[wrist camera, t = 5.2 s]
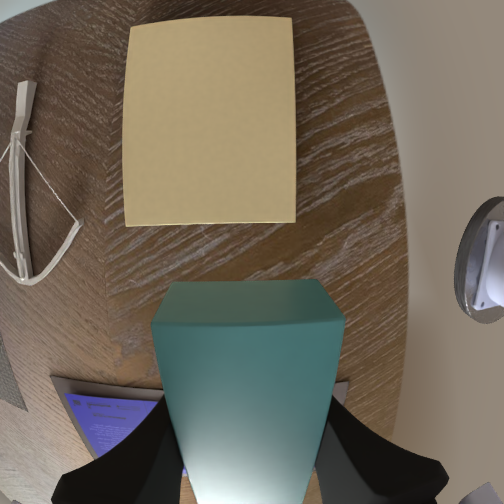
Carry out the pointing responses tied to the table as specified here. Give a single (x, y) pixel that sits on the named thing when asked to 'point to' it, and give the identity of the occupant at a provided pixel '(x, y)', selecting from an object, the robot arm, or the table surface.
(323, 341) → the teal rectangular block
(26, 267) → the crossbow
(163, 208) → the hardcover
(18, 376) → the table surface
